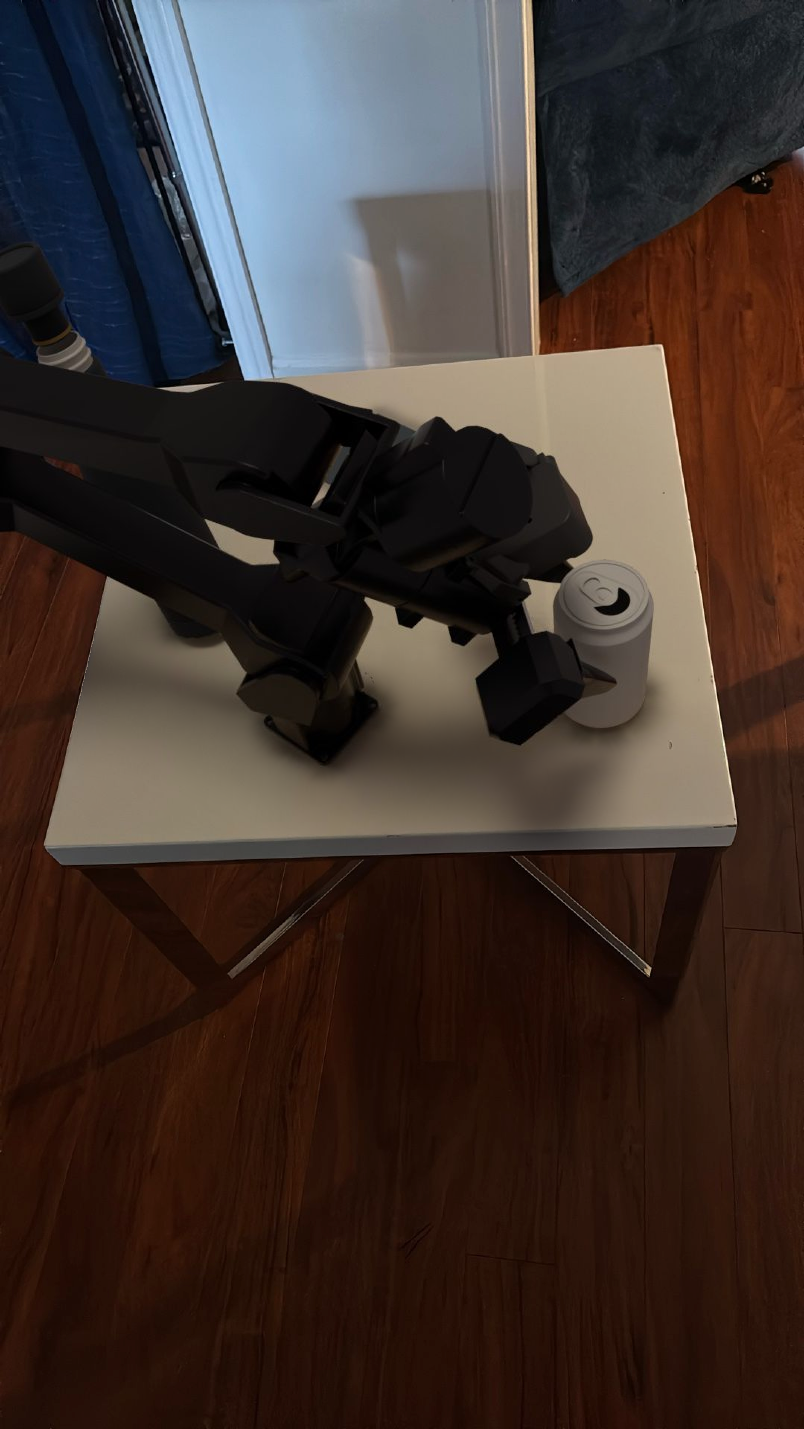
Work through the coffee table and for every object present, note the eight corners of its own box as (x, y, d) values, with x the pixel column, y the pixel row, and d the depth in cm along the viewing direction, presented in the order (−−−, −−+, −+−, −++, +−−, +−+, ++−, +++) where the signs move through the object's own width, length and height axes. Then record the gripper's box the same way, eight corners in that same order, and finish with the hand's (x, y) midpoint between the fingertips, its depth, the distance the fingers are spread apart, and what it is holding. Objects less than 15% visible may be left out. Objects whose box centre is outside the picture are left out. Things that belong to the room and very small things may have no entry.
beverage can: (600, 749, 73) (604, 651, 63) (537, 695, 77) (531, 593, 66) (663, 696, 75) (677, 591, 65) (599, 645, 78) (603, 538, 68)
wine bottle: (234, 634, 82) (35, 271, 60) (162, 643, 83) (-57, 293, 62) (252, 579, 86) (71, 221, 64) (182, 588, 87) (-16, 243, 66)
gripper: (543, 598, 49) (738, 675, 59) (461, 350, 60) (638, 449, 69) (404, 721, 56) (598, 773, 65) (351, 480, 66) (526, 554, 75)
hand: (591, 629), depth 69 cm, fingers open, 9 cm apart
